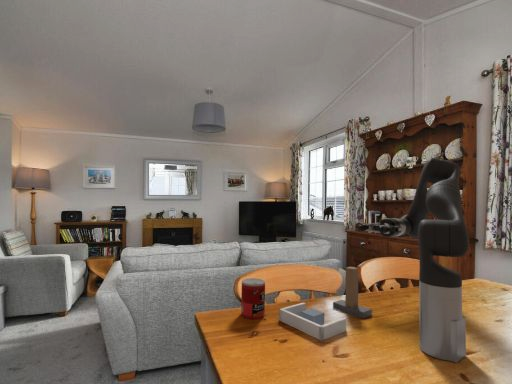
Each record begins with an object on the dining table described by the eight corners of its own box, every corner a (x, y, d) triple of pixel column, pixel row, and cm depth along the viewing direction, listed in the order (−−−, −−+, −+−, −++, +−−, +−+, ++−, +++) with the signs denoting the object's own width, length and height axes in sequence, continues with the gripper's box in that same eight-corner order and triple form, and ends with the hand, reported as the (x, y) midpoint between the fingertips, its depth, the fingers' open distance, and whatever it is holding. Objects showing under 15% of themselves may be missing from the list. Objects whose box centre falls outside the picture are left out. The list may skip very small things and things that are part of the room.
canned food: (255, 321, 91) (256, 285, 92) (236, 315, 96) (236, 281, 97) (269, 314, 97) (269, 280, 98) (250, 308, 102) (251, 276, 103)
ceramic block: (324, 326, 89) (324, 312, 89) (313, 330, 86) (313, 316, 86) (311, 320, 93) (311, 308, 93) (300, 324, 90) (300, 311, 90)
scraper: (371, 315, 98) (371, 270, 99) (363, 318, 95) (363, 272, 96) (341, 305, 108) (341, 264, 109) (333, 307, 105) (333, 265, 106)
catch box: (346, 330, 86) (346, 318, 86) (321, 340, 79) (321, 327, 79) (303, 312, 99) (303, 302, 99) (279, 320, 93) (279, 309, 93)
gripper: (375, 217, 125) (353, 217, 115) (409, 219, 114) (388, 219, 104) (375, 235, 125) (353, 237, 115) (409, 238, 114) (388, 241, 104)
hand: (369, 228), depth 109 cm, fingers open, 8 cm apart
